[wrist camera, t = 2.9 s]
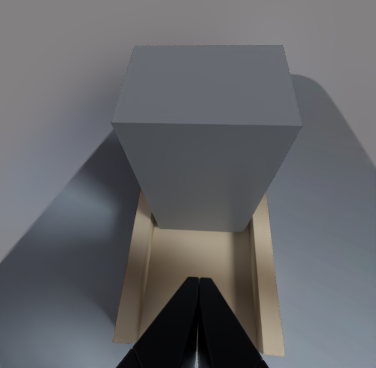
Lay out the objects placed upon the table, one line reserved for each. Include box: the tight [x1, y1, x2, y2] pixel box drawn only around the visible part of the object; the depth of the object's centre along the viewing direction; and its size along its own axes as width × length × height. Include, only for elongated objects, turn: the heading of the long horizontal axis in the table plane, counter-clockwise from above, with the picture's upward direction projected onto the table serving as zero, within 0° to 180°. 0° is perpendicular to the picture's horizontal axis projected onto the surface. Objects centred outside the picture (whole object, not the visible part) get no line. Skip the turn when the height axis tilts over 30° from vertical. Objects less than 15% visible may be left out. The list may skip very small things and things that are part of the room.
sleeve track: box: [113, 189, 285, 356], centre depth 16 cm, size 18×9×6 cm, turn 176°
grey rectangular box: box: [111, 45, 303, 233], centre depth 12 cm, size 4×6×10 cm
